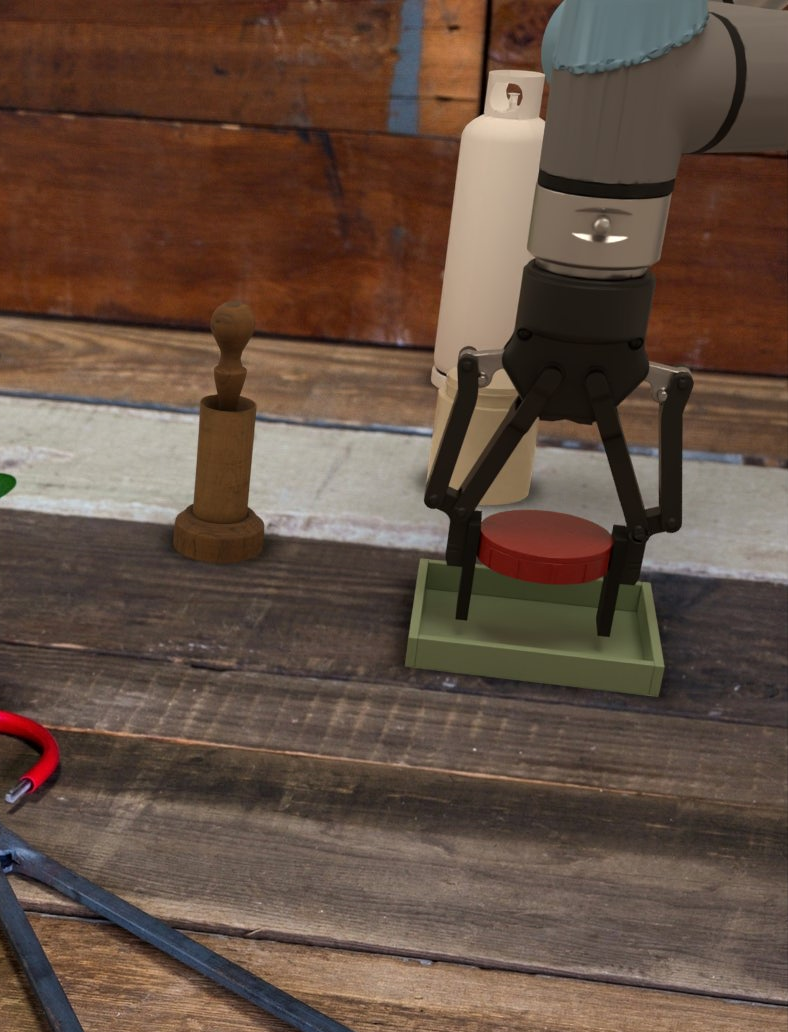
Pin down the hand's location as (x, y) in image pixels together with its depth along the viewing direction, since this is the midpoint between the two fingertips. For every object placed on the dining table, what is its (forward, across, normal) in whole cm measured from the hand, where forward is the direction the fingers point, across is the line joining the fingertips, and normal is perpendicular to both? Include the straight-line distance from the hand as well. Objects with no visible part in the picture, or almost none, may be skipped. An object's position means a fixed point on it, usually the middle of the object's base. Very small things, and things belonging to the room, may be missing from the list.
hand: (531, 619), depth 108 cm
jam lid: (-6, 0, 0) cm, 6 cm away
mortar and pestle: (+2, -22, +10) cm, 24 cm away
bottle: (+2, -5, +57) cm, 57 cm away
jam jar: (+2, -4, +28) cm, 28 cm away
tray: (+2, 0, 0) cm, 2 cm away
